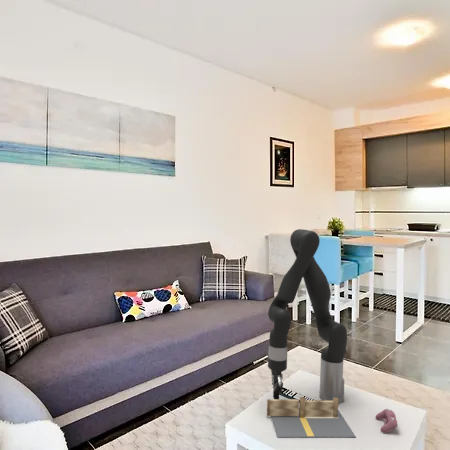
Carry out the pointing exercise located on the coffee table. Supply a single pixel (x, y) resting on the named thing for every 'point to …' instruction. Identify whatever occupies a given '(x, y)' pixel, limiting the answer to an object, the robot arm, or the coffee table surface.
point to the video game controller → (387, 420)
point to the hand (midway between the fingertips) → (276, 398)
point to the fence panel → (282, 407)
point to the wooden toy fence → (318, 408)
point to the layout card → (311, 427)
